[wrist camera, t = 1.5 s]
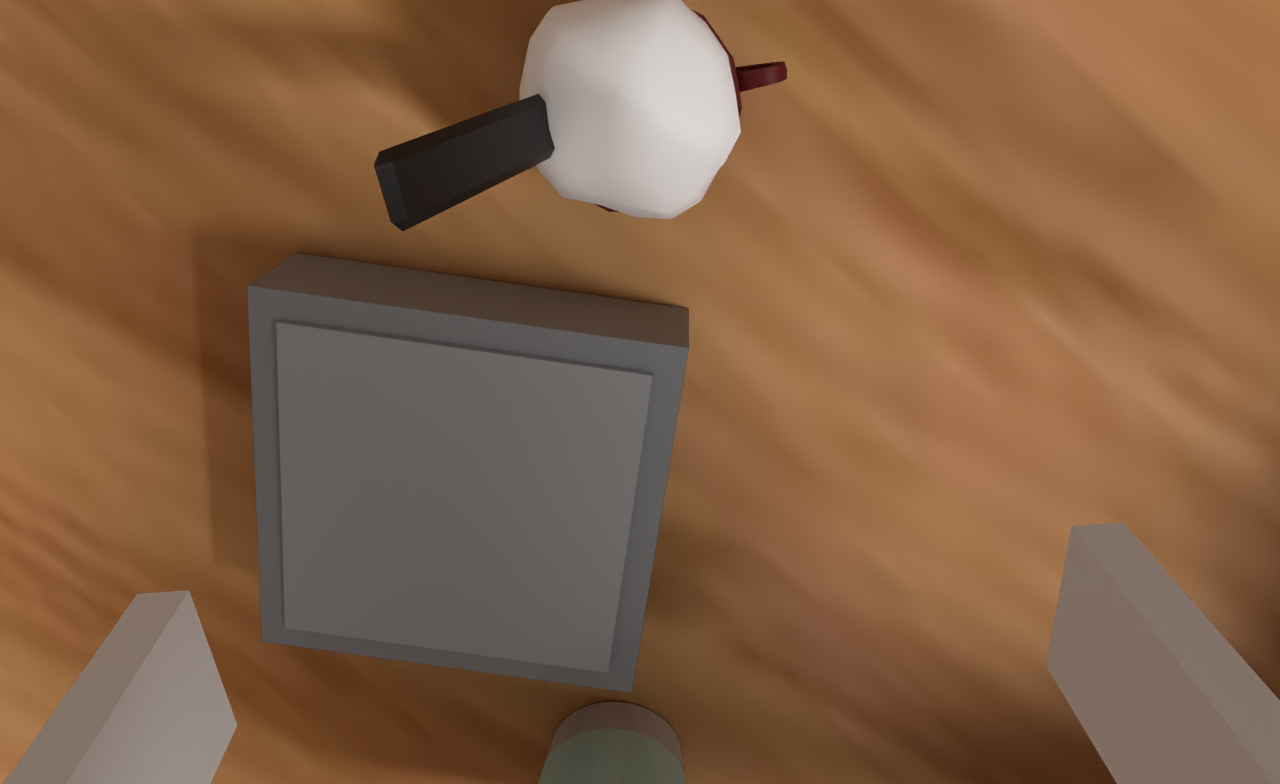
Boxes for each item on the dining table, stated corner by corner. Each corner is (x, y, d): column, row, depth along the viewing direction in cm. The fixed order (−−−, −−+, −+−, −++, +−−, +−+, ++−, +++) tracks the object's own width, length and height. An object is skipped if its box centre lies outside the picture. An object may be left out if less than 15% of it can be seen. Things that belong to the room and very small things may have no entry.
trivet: (688, 308, 33) (688, 351, 29) (637, 625, 38) (631, 697, 34) (297, 252, 32) (243, 287, 28) (303, 579, 38) (258, 646, 34)
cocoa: (784, 23, 29) (876, 21, 18) (738, 217, 31) (794, 322, 20) (487, -41, 28) (391, -84, 17) (462, 162, 31) (363, 240, 20)
